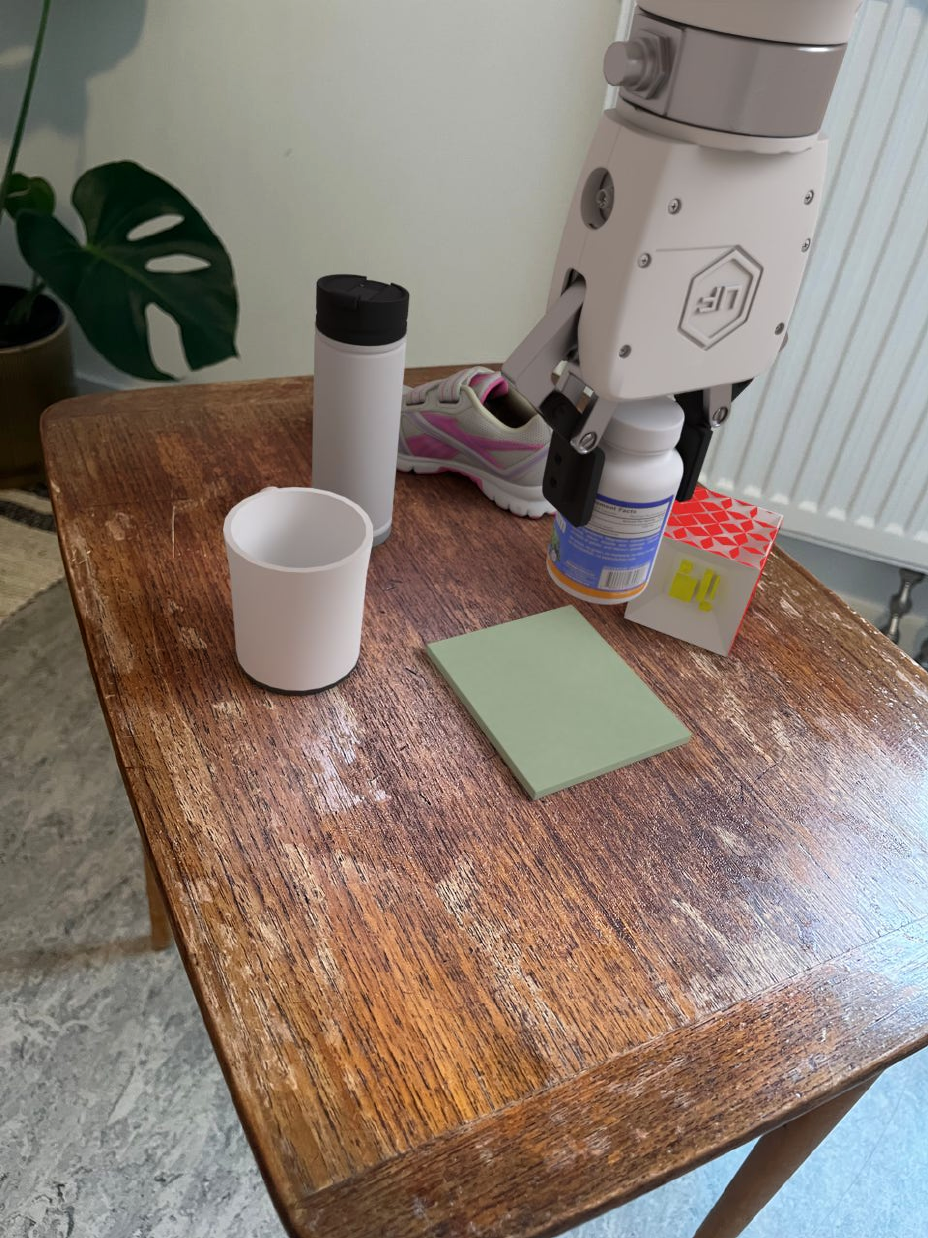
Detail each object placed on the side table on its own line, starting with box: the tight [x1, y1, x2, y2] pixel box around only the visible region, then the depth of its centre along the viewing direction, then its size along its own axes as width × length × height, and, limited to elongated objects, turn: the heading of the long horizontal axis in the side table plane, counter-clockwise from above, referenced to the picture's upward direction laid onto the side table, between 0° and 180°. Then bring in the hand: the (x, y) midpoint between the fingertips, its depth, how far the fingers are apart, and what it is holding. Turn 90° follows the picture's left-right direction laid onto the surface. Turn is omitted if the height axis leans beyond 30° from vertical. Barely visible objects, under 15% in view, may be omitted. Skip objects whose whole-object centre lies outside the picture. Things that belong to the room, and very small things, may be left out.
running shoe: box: [396, 365, 557, 520], centre depth 82 cm, size 9×22×10 cm, turn 64°
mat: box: [425, 604, 692, 801], centre depth 64 cm, size 14×12×1 cm
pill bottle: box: [545, 395, 684, 606], centre depth 46 cm, size 5×5×10 cm
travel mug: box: [311, 273, 411, 549], centre depth 69 cm, size 6×7×20 cm
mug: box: [222, 486, 373, 696], centre depth 62 cm, size 11×9×10 cm
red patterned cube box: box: [623, 485, 785, 658], centre depth 71 cm, size 8×8×8 cm
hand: (617, 495), depth 47 cm, fingers closed on pill bottle, 5 cm apart
